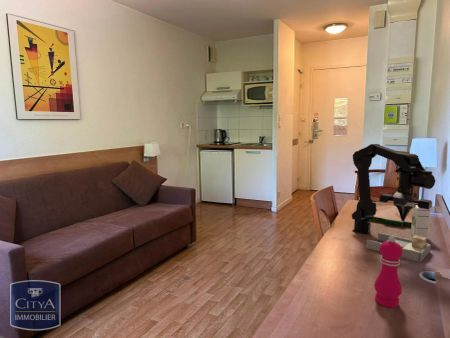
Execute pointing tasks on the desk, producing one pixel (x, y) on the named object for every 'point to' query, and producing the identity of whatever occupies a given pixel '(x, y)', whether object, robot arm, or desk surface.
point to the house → (392, 214)
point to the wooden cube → (419, 242)
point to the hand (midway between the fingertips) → (403, 220)
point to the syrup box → (420, 222)
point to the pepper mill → (389, 274)
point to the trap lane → (405, 243)
